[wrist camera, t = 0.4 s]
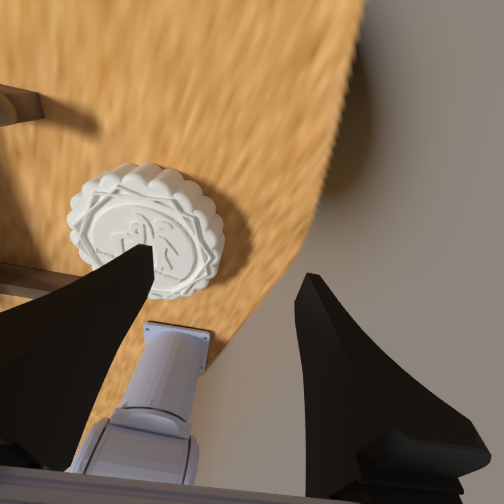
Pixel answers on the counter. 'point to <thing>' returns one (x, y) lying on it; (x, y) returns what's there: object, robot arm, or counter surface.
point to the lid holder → (10, 276)
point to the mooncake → (150, 225)
